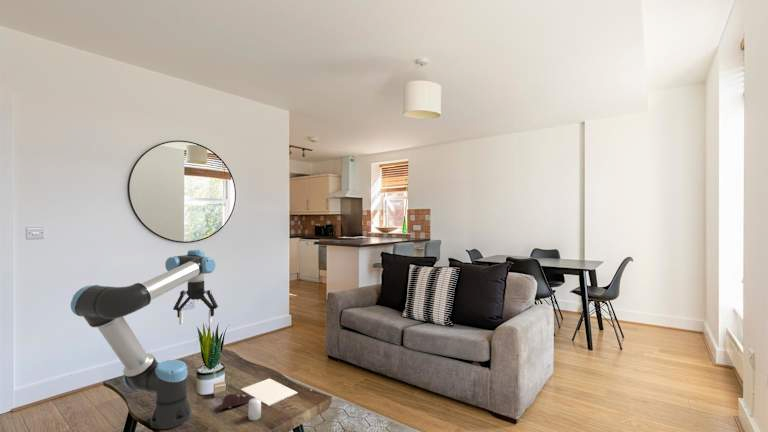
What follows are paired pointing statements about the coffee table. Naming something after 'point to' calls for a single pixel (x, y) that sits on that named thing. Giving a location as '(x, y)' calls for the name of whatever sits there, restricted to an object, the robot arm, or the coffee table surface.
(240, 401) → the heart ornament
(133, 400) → the coffee table surface
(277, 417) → the coffee table surface
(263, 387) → the cream mat
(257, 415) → the white cylinder
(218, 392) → the beech block
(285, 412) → the coffee table surface
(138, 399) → the coffee table surface
